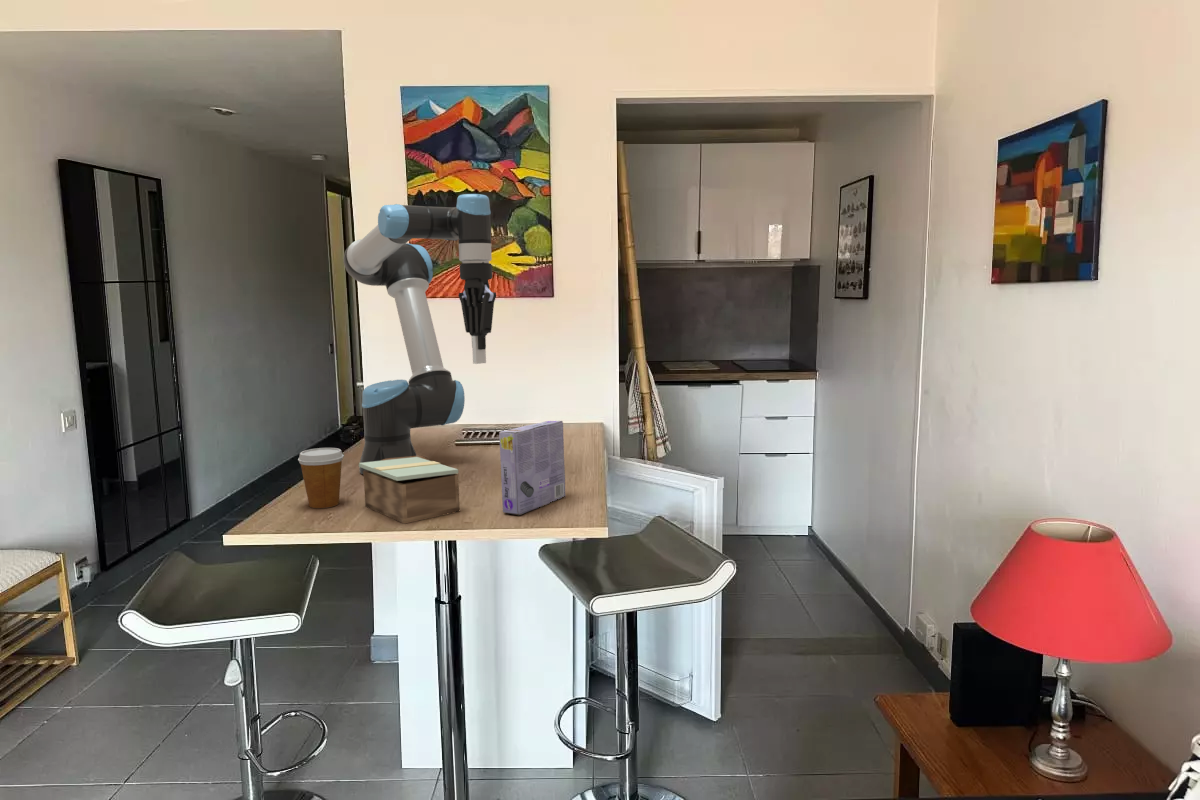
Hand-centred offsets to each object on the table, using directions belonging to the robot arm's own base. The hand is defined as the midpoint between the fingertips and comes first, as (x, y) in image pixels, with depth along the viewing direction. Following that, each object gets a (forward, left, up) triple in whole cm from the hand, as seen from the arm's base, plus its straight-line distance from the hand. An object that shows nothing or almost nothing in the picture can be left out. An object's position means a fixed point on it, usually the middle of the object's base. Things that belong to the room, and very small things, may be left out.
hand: (479, 363), depth 188 cm
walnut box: (+8, -24, -29) cm, 38 cm away
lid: (+8, -24, -21) cm, 33 cm away
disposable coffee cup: (-9, -36, -30) cm, 47 cm away
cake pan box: (+24, -2, -30) cm, 38 cm away
